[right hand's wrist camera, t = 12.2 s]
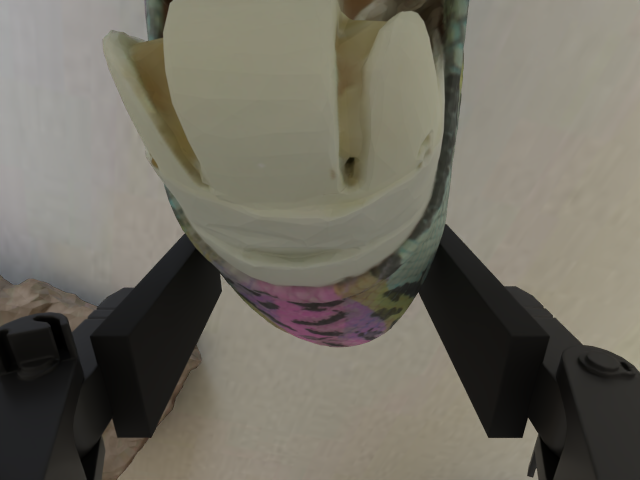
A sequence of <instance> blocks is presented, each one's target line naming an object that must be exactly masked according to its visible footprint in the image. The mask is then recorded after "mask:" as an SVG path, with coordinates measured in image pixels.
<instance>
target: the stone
mask: <svg viewBox="0 0 640 480" xmlns="http://www.w3.org/2000/svg"><path fill="white" fill-rule="evenodd" d="M94 310H97V306H95V305H92V304H89V303H87V302H85V301H83V300H81V299H80V298H79V297H78V296H76V295H75V294H71V293H66V292H64V291H61V290H59V289H57V288H55V287H53V286H51V285H50V284H48V283H46V282H41V281H38V280H35V279H27V280H26V281H24V282H22V283H21V284H19V285H13V284H11V283H10V282H8V281H6V280H5V279H3V277H2V276H1V275H0V327H1V326H2V325H4V324H6V323H8V322H11V321H13V320H16V319H18V318H21V317H24V316H28V315H32V314H36V313H47V312H54V313H61V314H63V315H64V316H66V317H67V318H68V321H69V324H70V328H71V331H72V332H73V331H74V330H75V329H76V328H77V327H78V326H79V325H80V324H81V323H82V322H83V321H84V320H85V319H87V318H88V316H89V315H90V314H91V313H92V312H93V311H94ZM201 362H202V360H201V354H200V352H199V350H198V348H197V345H196V346H195V348H194V350H193V352H192V354H191V356H190V358H189V361H188V363H187V365H186V367H185V369H184V371H183V373H182V375H181V377H180V379H179V381H178V383H177V385H176V388H175V390H174V392H173V394H172V396H171V398H170V400H169V402H168V404H167V406H166V408H165V410H164V412H163V415H162V417H161V419H160V421H159V423H158V425H159V424H160V422H161V421H162V420H163V419H164V418H165V417H166V416H167V415H168V414H169V413H170V412H171V411H172V410H173V407H174V402H175V398H176V396H177V395H178V393H179V392H180V390H181V389H182V387H183V383H184V381H185V380H186V378H187V376H188V374H189V373H190V371H191V370H193V369H195V368H197V367H198V365H199V364H200V363H201ZM158 425H157V426H158ZM102 437H103V440H104V445H105V458H104V466H103V473H102V480H117V478H118V477H119V476H120V475H121V474H122V473H123V472H124V470H125V469H126V468H127V467H128V466H129V464H130V463H131V462H132V460H133V459H134V457H135V455H136V453H137V452H138V451H139V450H140V449H141V448H142V447H143V446H144V444H145V443H146V441H147V440H148V438H117V435H116V431H115V427H114V424H113V420H111V421H110V423H109V424H108V426H107V428H106V429H105V431H104V432H103V434H102Z"/></svg>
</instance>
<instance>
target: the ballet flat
mask: <svg viewBox="0 0 640 480" xmlns="http://www.w3.org/2000/svg"><path fill="white" fill-rule="evenodd" d="M468 6H469V0H145V15H146V24H147V33H148V41H144V40H142V39H140V38H136V37H132V36H129V35H127V34H126V33H124V32H117V31H113V30H111V31H110V32H109V33H108V34H107V35H106V36H105V37H104V38H103V51H104V55H105V58H106V61H107V64H108V68H109V70H110V73H111V75H112V77H113V80H114V82H115V84H116V87H117V89H118V91H119V93H120V96H121V98H122V100H123V103H124V105H125V107H126V109H127V111H128V113H129V115H130V117H131V119H132V121H133V123H134V125H135V127H136V129H137V131H138V133H139V135H140V137H141V139H142V141H143V143H144V145H145V147H146V158H147V159H148V161H149V162H150V164H151V165H152V167H153V168H154V170H155V171H156V173H157V174H158V176H159V177H160V179H161V180H162V181H163V183H164V186H165V190H166V193H167V196H168V199H169V202H170V204H171V207H172V209H173V211H174V214H175V216H176V218H177V220H178V222H179V224H180V226H181V228H182V229H183V231H184V232H185V234H186V235H187V236H188V238H189V239H190V241H191V242H192V243H193V245H194V246H195V247H196V249H197V250H198V251H199V252H200V253H201V254H202V255H203V256H204V257H205V258H206V259H207V260H208V261H209V262H211V263H212V264H213V265H214V266H215V267H216V268H217V269H218V271H219V272H220V274H221V275H222V276H223V277H224V278H225V280H226V281H227V283H228V284H229V285H231V287H232V288H233V289H234V290H235V291H236V292H237V294H238V295H239V296H240V297H241V298H242V299H243V300H244V301H245V302H246V303H247V304H248V305H249V306H250V307H251V308H252V309H253V310H255V311H256V312H257V313H258V314H259V315H260V316H262V317H263V318H264V319H266V320H267V321H268V322H269V323H271V324H272V325H274V326H275V327H277V328H279V329H281V330H283V331H285V332H287V333H290V334H292V335H294V336H296V337H298V338H300V339H303V340H306V341H309V342H312V343H315V344H319V345H325V346H330V347H349V346H355V345H360V344H363V343H366V342H369V341H371V340H373V339H375V338H377V337H379V336H381V335H382V334H384V333H385V332H387V331H388V330H389V329H391V328H392V326H393V325H394V324H395V323H396V322H397V321H398V320H399V319H400V318H401V316H402V315H403V314H404V313H405V311H406V310H407V308H408V307H409V306H410V304H411V303H412V301H413V299H414V298H415V296H416V295H417V293H418V292H419V290H420V288H421V286H422V284H423V282H424V280H425V278H426V276H427V274H428V272H429V269H430V267H431V264H432V262H433V260H434V257H435V255H436V252H437V249H438V246H439V243H440V240H441V237H442V234H443V230H444V227H445V221H446V213H447V204H448V197H449V189H450V182H451V170H452V162H453V156H454V148H455V142H456V134H457V130H458V119H459V111H460V103H461V88H462V80H463V66H464V53H463V47H464V41H465V32H466V23H467V14H468Z"/></svg>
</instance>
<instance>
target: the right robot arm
mask: <svg viewBox="0 0 640 480" xmlns="http://www.w3.org/2000/svg"><path fill="white" fill-rule="evenodd" d="M221 292H222V288H221V279H220V272H219V271H218V269H217V268H216V267H215V266H214V265H213V264H212V263H211V262H209V261H208V260H207V259H206V258H205V257H204V256H203V255H202V254H201V253H200V252H199V251H198V250H197V249H196V247H195V246H194V245H193V243H192V242H191V241H190V239H189V238H188V236H187V235H186V234H184V235H183V236H182V237H181V238H180V239H179V240H178V241H177V242H176V244H175V245H174V246H173V247H172V248H171V249H170V250H169V251H168V252H167V253H166V254H165V255H164V256H163V258H162V259H161V260H160V261H159V262H158V263H157V264H156V265H155V266H154V267H153V268H152V269H151V271H150V272H149V273H148V274H147V275H146V276H145V277H144V278H143V279H142V280H141V281H140V282H139V283H138V285H137V286H136V287H135V288H123V289H121V290H119V291H117V292H116V293H114V294H112V295H110V296H108V297H107V298H106V299H105V300H104V301H103V302H102V303H101V304H100V305H99V306H98V307H97V310H94V311H93V312H92V313H91V314H90V315H89V316H88V318H87V319H85V320H84V321H83V322H82V323H81V324H80V325H79V326H78V327H77V328H76V329H75V330H74V331H73V332H72V331H71V328H70V324H69V321H68V318H67V317H66V316H64V315H63V314H61V313H54V312H47V313H36V314H32V315H28V316H24V317H21V318H18V319H16V320H13V321H11V322H8V323H6V324H4V325H2V326H1V327H0V480H102V473H103V466H104V458H105V445H104V440H103V437H102V434H103V432H104V431H105V429H106V428H107V426H108V424H109V423H110V421H111V420H113V424H114V427H115V431H116V435H117V438H151V437H152V435H153V433H154V431H155V429H156V427H157V425H158V423H159V421H160V419H161V417H162V415H163V412H164V410H165V408H166V406H167V404H168V402H169V400H170V398H171V396H172V394H173V392H174V390H175V388H176V385H177V383H178V381H179V379H180V377H181V375H182V373H183V371H184V369H185V367H186V365H187V363H188V361H189V358H190V356H191V354H192V352H193V350H194V348H195V346H196V344H197V342H198V340H199V338H200V336H201V334H202V331H203V329H204V327H205V325H206V323H207V321H208V319H209V317H210V315H211V313H212V311H213V309H214V307H215V304H216V302H217V300H218V298H219V296H220V294H221ZM419 294H420V297H421V299H422V301H423V303H424V305H425V307H426V309H427V311H428V313H429V315H430V317H431V319H432V321H433V324H434V326H435V328H436V330H437V332H438V334H439V336H440V338H441V340H442V342H443V344H444V346H445V348H446V351H447V353H448V355H449V357H450V359H451V361H452V363H453V365H454V367H455V369H456V371H457V373H458V375H459V378H460V380H461V382H462V384H463V386H464V388H465V390H466V392H467V394H468V396H469V398H470V400H471V402H472V405H473V407H474V409H475V411H476V413H477V415H478V417H479V419H480V421H481V423H482V425H483V427H484V429H485V432H486V434H487V436H488V438H523V434H524V430H525V427H526V423H527V419H528V418H529V419H530V421H531V423H532V424H533V426H534V427H535V429H536V431H537V432H538V437H537V440H536V444H535V447H534V451H533V454H532V457H531V461H530V464H529V468H528V474H527V476H529V477H533V476H534V473H535V469H536V468H537V472H538V479H539V480H640V372H639V371H638V370H637V369H636V368H635V366H634V365H632V364H631V363H629V362H628V361H626V360H625V359H624V358H622V357H620V356H618V355H616V354H614V353H612V352H609V351H607V350H604V349H600V348H597V347H594V346H586V345H582V344H581V343H580V342H579V341H578V340H577V339H576V338H575V337H574V336H573V335H572V334H571V333H570V332H569V331H568V330H567V329H566V328H565V327H564V326H563V325H562V324H561V323H560V322H559V321H558V320H557V319H556V318H553V315H552V314H551V313H550V312H549V311H548V310H547V309H544V308H543V305H542V304H541V303H539V302H538V301H537V300H536V299H535V298H534V297H533V296H532V295H530V294H529V293H527V292H525V291H523V290H521V289H520V288H518V287H516V286H503V285H502V284H501V283H500V282H499V280H498V279H497V278H496V277H495V276H494V275H493V274H492V273H491V272H490V271H489V270H488V269H487V267H486V266H485V265H484V264H483V263H482V262H481V261H480V260H479V259H478V258H477V257H476V256H475V255H474V253H473V252H472V251H471V250H470V249H469V248H468V247H467V246H466V245H465V244H464V243H463V242H462V241H461V239H460V238H459V237H458V236H457V235H456V234H455V233H454V232H453V231H452V230H451V229H450V228H449V226H448V225H447V224H445V227H444V230H443V234H442V237H441V240H440V243H439V246H438V249H437V252H436V255H435V257H434V260H433V262H432V264H431V267H430V269H429V272H428V274H427V276H426V278H425V280H424V282H423V284H422V286H421V288H420V290H419Z"/></svg>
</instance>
